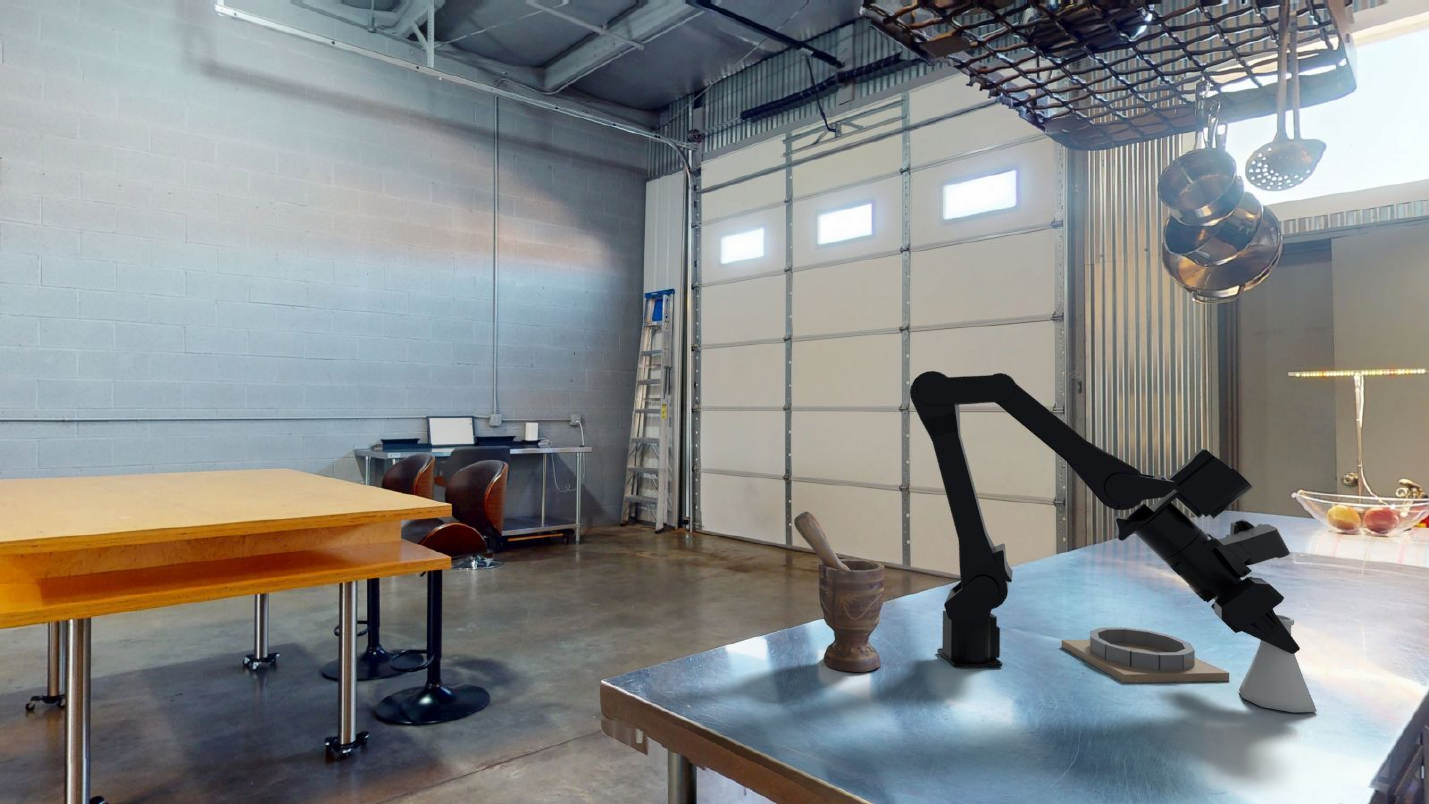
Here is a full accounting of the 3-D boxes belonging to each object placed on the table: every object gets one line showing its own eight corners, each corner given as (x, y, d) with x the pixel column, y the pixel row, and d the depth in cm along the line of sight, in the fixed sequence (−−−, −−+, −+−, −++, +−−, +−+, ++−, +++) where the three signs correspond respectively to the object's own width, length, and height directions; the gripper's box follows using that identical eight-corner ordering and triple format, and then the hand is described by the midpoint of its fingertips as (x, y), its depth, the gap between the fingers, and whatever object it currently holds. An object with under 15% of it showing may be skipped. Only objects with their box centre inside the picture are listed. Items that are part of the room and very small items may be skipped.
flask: (1331, 718, 82) (1331, 627, 82) (1257, 711, 83) (1257, 623, 83) (1294, 694, 89) (1294, 610, 89) (1226, 688, 90) (1227, 606, 90)
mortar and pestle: (817, 681, 90) (819, 518, 91) (785, 659, 98) (787, 509, 99) (896, 671, 95) (898, 515, 95) (859, 650, 103) (861, 507, 103)
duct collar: (1124, 682, 92) (1124, 658, 92) (1061, 646, 106) (1061, 625, 106) (1229, 680, 93) (1229, 656, 93) (1153, 645, 107) (1153, 624, 107)
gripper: (1260, 509, 79) (1391, 625, 75) (1218, 492, 96) (1322, 586, 92) (1174, 575, 82) (1295, 690, 78) (1148, 548, 99) (1246, 641, 95)
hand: (1291, 647), depth 85 cm, fingers closed on flask, 3 cm apart
